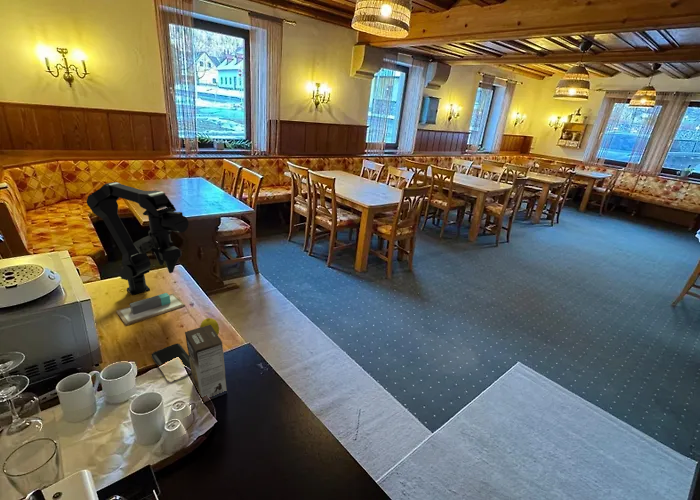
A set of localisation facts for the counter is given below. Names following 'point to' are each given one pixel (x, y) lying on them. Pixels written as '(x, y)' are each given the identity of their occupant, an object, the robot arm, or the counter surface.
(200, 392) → the coffee box
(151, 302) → the dark gray rectangular block
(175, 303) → the cream flat piece
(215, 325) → the lemon
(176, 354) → the phone
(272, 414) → the counter surface
